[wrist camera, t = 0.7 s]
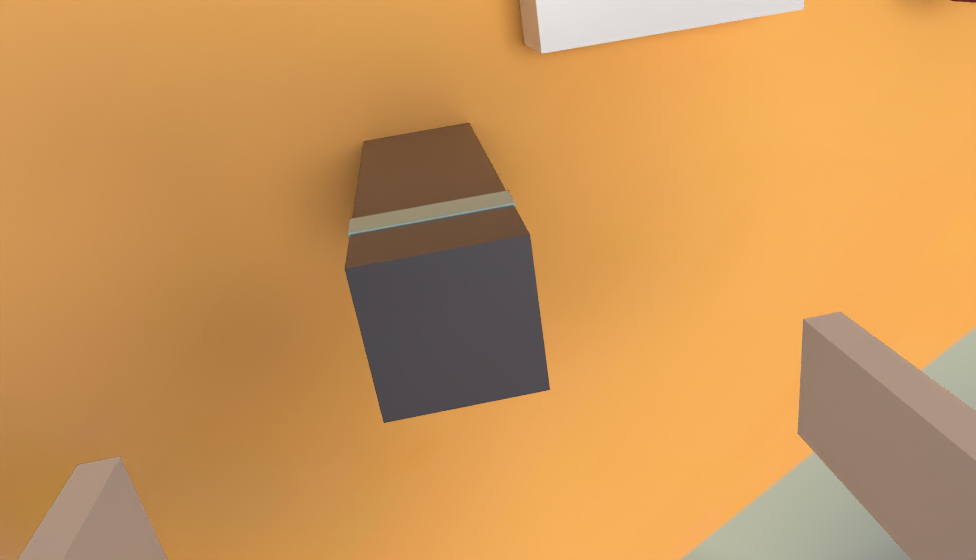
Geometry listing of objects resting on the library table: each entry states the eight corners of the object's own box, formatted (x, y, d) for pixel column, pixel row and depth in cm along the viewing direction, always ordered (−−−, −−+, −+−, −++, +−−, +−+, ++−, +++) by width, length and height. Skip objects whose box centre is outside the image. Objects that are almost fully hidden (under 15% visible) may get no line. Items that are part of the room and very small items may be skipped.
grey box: (385, 241, 31) (382, 424, 18) (362, 140, 29) (342, 267, 16) (485, 222, 31) (552, 390, 19) (470, 121, 29) (531, 232, 17)
